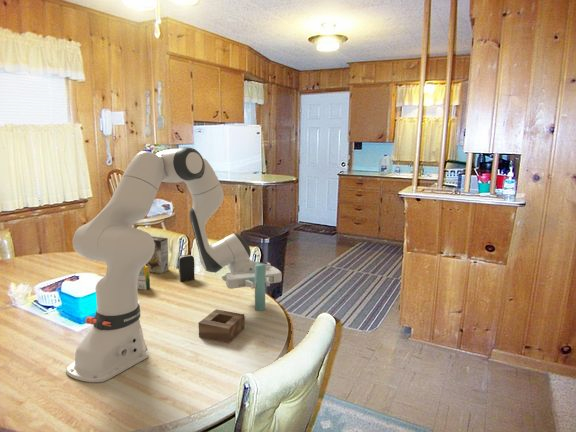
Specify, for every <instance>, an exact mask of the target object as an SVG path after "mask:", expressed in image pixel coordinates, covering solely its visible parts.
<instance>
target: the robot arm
mask: <svg viewBox="0 0 576 432" xmlns="http://www.w3.org/2000/svg"><path fill="white" fill-rule="evenodd" d="M182 182H184V183H185V184H186V186H187V189H188V191H189V193H190V196H191V199H192V206H191V208H190V210H189V220H190V223H191V228H192V232H193V235H194V239H195V243H196V245H197V250H198V255H199V260H200V265H201V266H202V267H203V269H204V270H205V271H206V272H208V273H209V272H210V273H214V274H215V273H217V272H219V271H221V270H222V269H223V268H225V267H226V266H227V268H228V271H229V272H227V273H225V275H224V276H221V279H222V281H224V282H225V285H226V287H227V289H240V288H251V289H255V288H256V283H255V264H260V263H261V264H265V265H266V277H265V288H266V287H270V286H271V284H276V283H281V282H282V271H281V270H279V269H278V268H277V267H276V266H272V265H271V263H270V262H263V261H262V262H261V261H259V262H258V261H254V260H251V259H250V258H251V256H252V255H251V253H252V251H251V248H250V246H249V243H248V242H247V240H246V239H245V237H244V236H242V235H240V234H238V233H236V232H235V233H234V232H233V233H231V234H229V235H227V236H225V237H223V238H221V239H220V240H219V241H216V242H214V243H212V244H209V239H208V236H207V232H206V224H207V222H208V221H209V220H210V218H211V217H212V216H213V215H214V214H215V213H216V212H217V211H218V210H219V208H220V207H221V206H222V203H223V201H224V195H225V194H224V190H223V188H222V184H221V182H220V180H219V178H218V176H217V173H216V172H215V171H214V169H213V167H212V165H211V163H209V161H208V160H207V159H206V158H204V157H203V156H202V154H201V152H199V151H198V150H197V149H195V148H193V147H189V146H188V147H185V146H184V147H183V146H182V147H178V148H167V149H163V150H161V151H156V152H152V151H147V150H145V151H139V152H137V153H136V154H135V155H134V157H133V158H132V159H131V161H130V162H129V163H128V165H127V167H126V169H125V170H124V172H123V173H122V176H121V178H120V180H119V181H118V184H117V187H116V188H115V190H114V192H113V194H112V196H111V198H110V199H109V201H108V202H107V203H106V205H105V206H104V207H103V209H101V211H100V212H99V213H98V214H96V216H95V217H93V219H91V220H90V221H88V222H86V223H85V224H82V225H80V226H79V227H78V228H77V229H76V230H75V232H74V234H73V236H72V241H71V242H72V247H73V248H72V249H73V250H74V251H75V253H77V254H78V255H80V256H81V257H83V258H86V259H87V260H90V261H95V262H101V263H105V265H106V273H105V276H103V277H102V278H100V279H99V281H97V283H96V284H95V285H96V286H95V295H96V296H95V297H96V311H95V313H94V316H87V317H86V318H85V322H84V323H85V324H87V325H88V324H90V325H93V326H92V327H91V328H90V330H89V331H88V332H87V334H86V336H85V337H84V338H83V339H82V340H81V342H80V343H79V344H78V346H77V347H76V348H75V355H74V361H72V362H71V363H70V364H69V365H68V366H66V369H65V373H66V374H67V376H69V377H71V378H73V379H75V380H77V381H83V382H86V383H103V382H106V381H108V380H111V378H114V377H115V376H117V375H119V374H120V373H123V372H124V371H126V370H128V369H129V368H132V367H133V366H135V365H137V364H139V363H141V362H142V361H144V360H145V359H148V357H149V353H148V351H147V344H146V341H145V337H144V333H143V329H142V325H141V320H140V318H141V307H140V304H139V298H138V297H139V296H138V289H137V282H138V276H139V273H140V271H141V269H142V267H143V266H144V265H145V264H147V263H148V262H149V261H150V259H151V258H152V256H153V254H154V250H155V244H154V240H153V238H152V236H153V235H152V234H150V233H149V232H147V231H144V230H142V229H140V228H136V227H133V225H134V224H136V223H137V222H138V221H140V220H143V219H144V218H145V217H147V215H148V214H149V213H150V211H151V209H152V206H153V203H154V201H155V199H156V196H157V194H158V192H159V188H161V187H160V186H161V184H165V183H175V184H176V183H182ZM145 266H146V265H145Z"/></svg>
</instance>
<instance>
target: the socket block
mask: <svg viewBox="0 0 576 432" xmlns="http://www.w3.org/2000/svg"><path fill="white" fill-rule="evenodd" d="M245 321H246V320H245V314H244V313H240V312H233V311H228V310H221V309H218V308H217V309H214V310H213V311H212V312H211V313H209V314H208V315H207V316H205V317H204V318H203V319H201V320H200V321H198V337H199V338H201V339H202V338H203V339H206V340H207V339H208V340H212V341H217V342H221V343H227V344H230V343H231V342H232V341H233V340H234V339H235V338H236V337H237V336H238V335H239V334H240V333H241V332H242V331H243V330H244V329H245V325H246V324H245Z"/></svg>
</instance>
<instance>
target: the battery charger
mask: <svg viewBox="0 0 576 432" xmlns="http://www.w3.org/2000/svg"><path fill="white" fill-rule="evenodd" d="M194 257H195V256H194V255H192V254H185V255H184V254H183V255H180V256H178V258H177V267H178V273H179V275H178V277H179V281H180V282H185V281H191V280H195V258H194Z"/></svg>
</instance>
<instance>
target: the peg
mask: <svg viewBox="0 0 576 432" xmlns="http://www.w3.org/2000/svg"><path fill="white" fill-rule="evenodd" d="M265 277H266V265H265V264H261V263H260V264H255V283H256V288H254V311H256V312H264V311H266V287H265Z"/></svg>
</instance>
